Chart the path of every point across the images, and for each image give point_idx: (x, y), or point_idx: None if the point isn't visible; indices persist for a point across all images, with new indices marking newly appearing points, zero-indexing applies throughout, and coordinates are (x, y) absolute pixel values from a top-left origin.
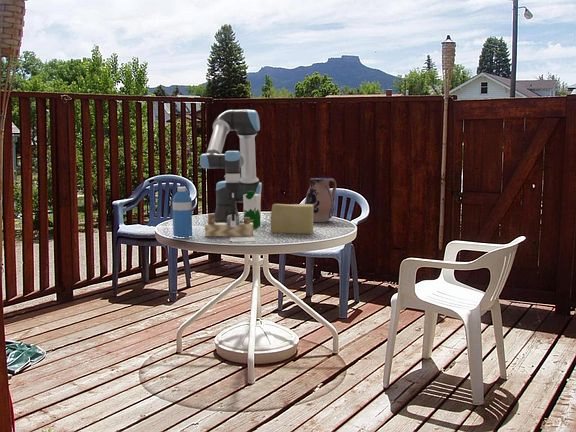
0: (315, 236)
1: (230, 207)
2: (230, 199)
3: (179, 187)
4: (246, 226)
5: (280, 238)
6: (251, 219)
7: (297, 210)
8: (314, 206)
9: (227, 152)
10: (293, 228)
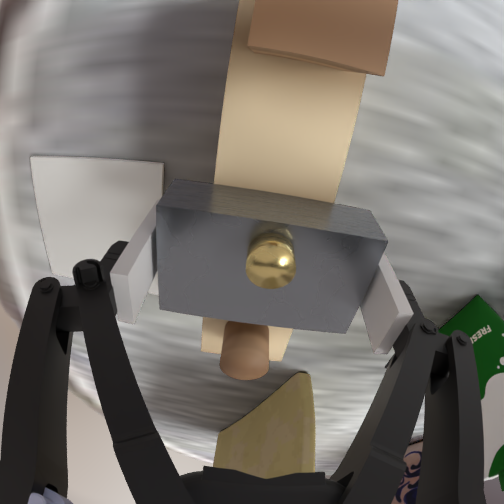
0: (182, 428)
1: (461, 340)
2: (124, 475)
3: None
4: None
5: (143, 365)
6: None
7: None
8: (403, 485)
9: None
10: (244, 428)
